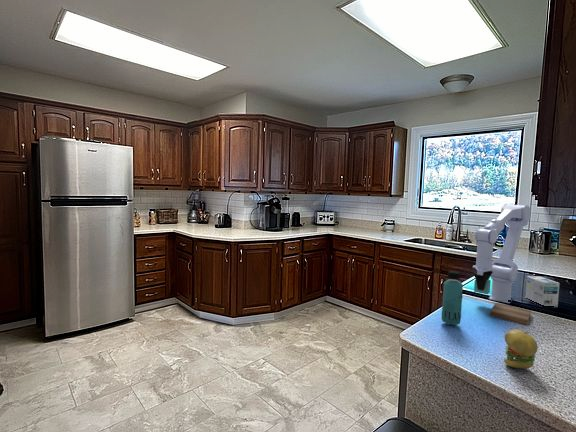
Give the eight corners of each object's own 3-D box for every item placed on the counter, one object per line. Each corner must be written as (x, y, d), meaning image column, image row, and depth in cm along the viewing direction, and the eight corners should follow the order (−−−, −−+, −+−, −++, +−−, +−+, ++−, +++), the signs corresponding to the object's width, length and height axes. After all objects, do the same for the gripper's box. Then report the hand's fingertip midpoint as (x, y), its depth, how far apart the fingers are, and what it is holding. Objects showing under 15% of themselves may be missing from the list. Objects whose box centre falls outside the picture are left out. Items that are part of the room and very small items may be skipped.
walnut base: (494, 307, 134) (495, 303, 134) (530, 315, 126) (530, 310, 126) (489, 316, 125) (489, 311, 125) (527, 325, 117) (527, 319, 117)
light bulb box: (558, 307, 136) (560, 282, 135) (542, 307, 136) (544, 282, 135) (539, 298, 146) (541, 275, 145) (524, 298, 147) (526, 275, 146)
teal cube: (476, 289, 139) (477, 277, 139) (489, 291, 136) (490, 280, 136) (473, 291, 136) (474, 280, 135) (487, 294, 132) (488, 282, 132)
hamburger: (521, 362, 92) (525, 321, 91) (542, 376, 85) (546, 333, 84) (496, 362, 92) (499, 321, 90) (514, 376, 84) (518, 333, 83)
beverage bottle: (440, 326, 115) (443, 272, 113) (441, 320, 120) (444, 268, 119) (460, 330, 112) (464, 275, 110) (460, 323, 117) (464, 270, 116)
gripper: (477, 253, 143) (475, 282, 144) (469, 258, 132) (467, 290, 133) (495, 255, 138) (493, 286, 139) (489, 261, 127) (487, 294, 128)
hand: (482, 288), depth 136 cm, fingers closed on teal cube, 5 cm apart
